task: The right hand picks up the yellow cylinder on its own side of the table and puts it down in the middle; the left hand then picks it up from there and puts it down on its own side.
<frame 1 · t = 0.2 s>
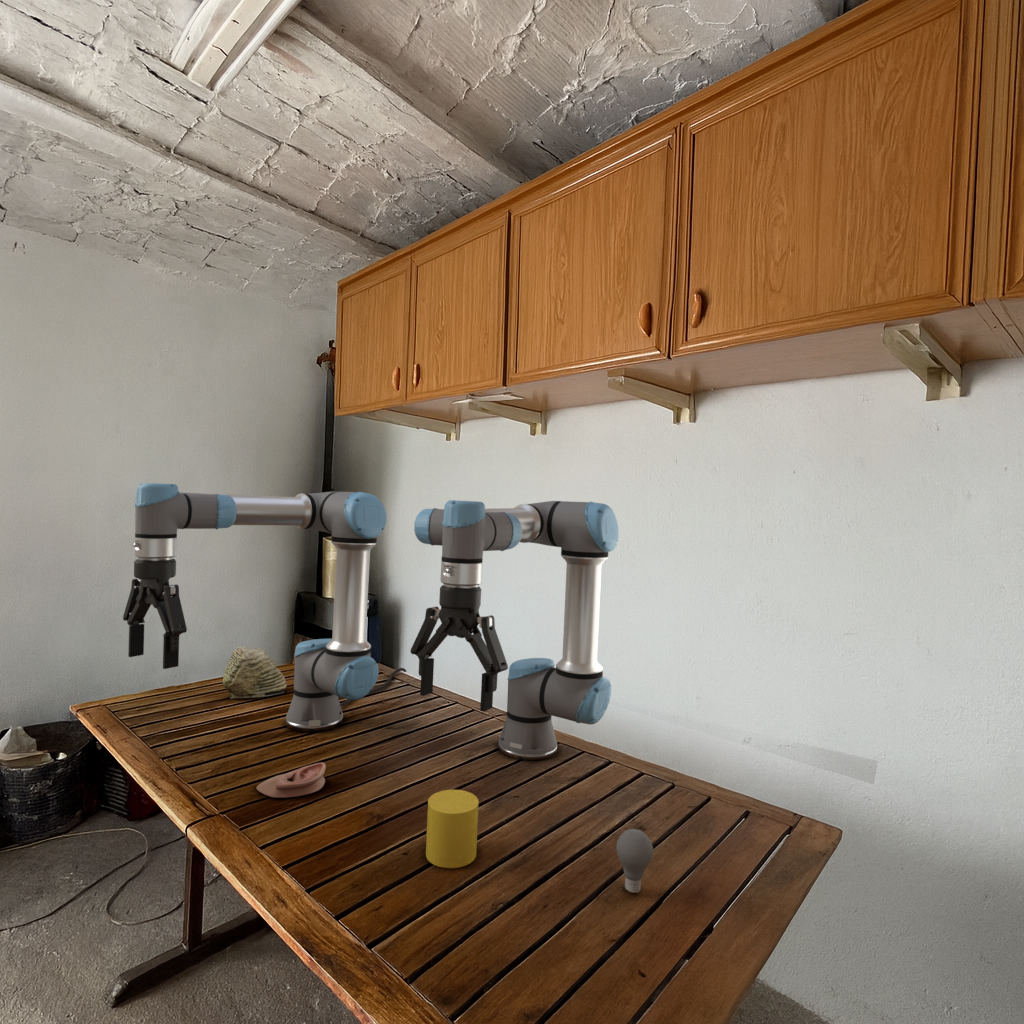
left hand: (152, 661, 130), 28 cm above the table, tool pointing down, fingers open, 13 cm apart
right hand: (455, 701, 115), 27 cm above the table, tool pointing down, fingers open, 13 cm apart
fossil: (254, 694, 198), on the table
light bulb: (632, 891, 106), on the table
yellow cylinder: (451, 853, 115), on the table
anatomical model: (291, 787, 137), on the table
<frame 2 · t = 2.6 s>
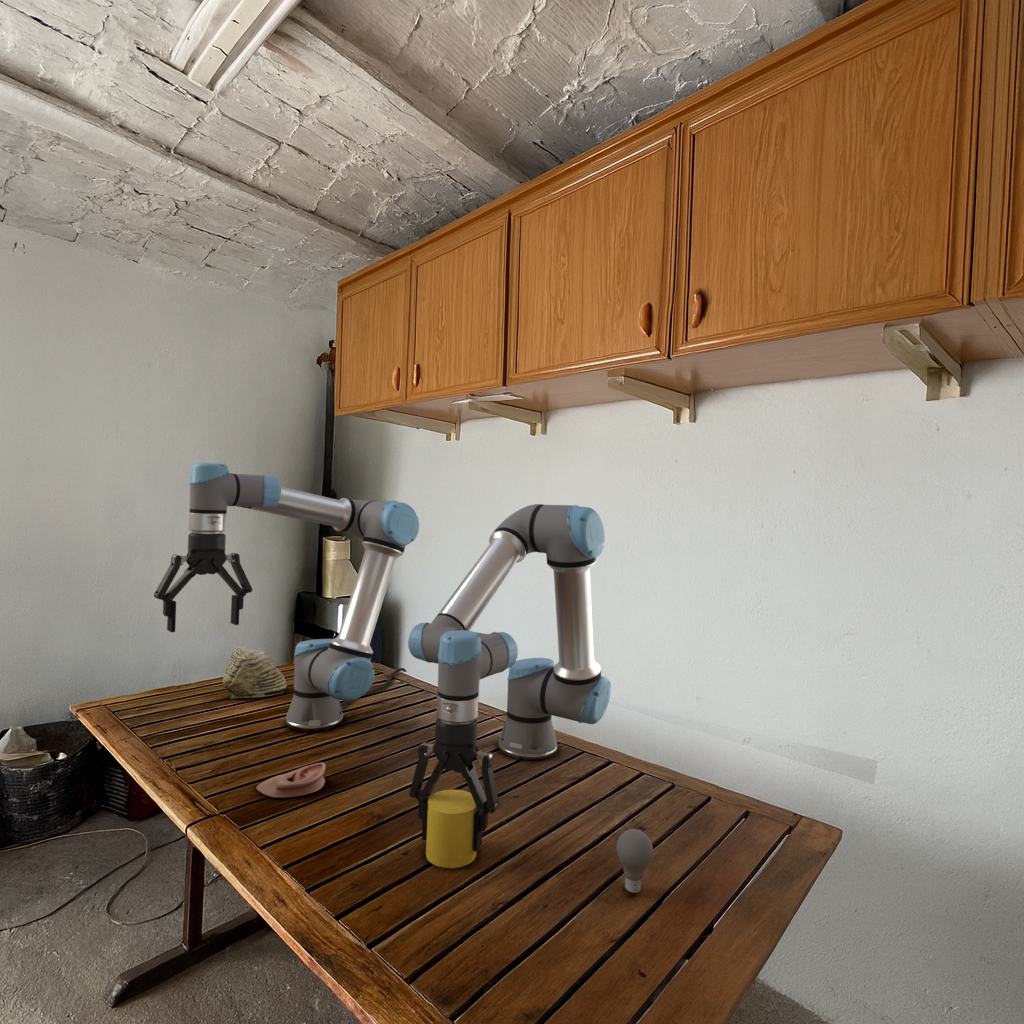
left hand: (204, 627, 141), 33 cm above the table, tool pointing down, fingers open, 13 cm apart
right hand: (451, 841, 115), 2 cm above the table, tool pointing down, fingers closed on yellow cylinder, 9 cm apart
yellow cylinder: (451, 853, 115), on the table, touching right hand
everything else where it was.
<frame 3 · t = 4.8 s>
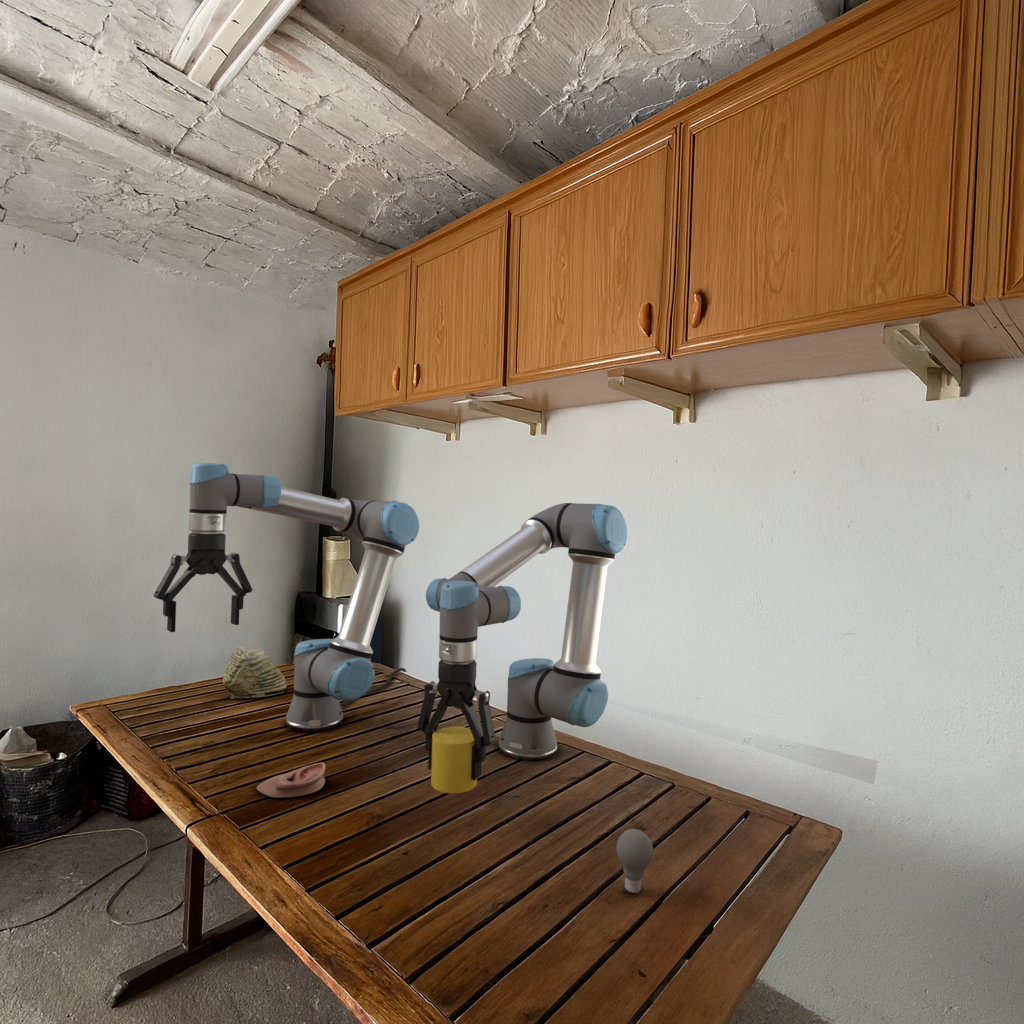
left hand: (204, 627, 141), 33 cm above the table, tool pointing down, fingers open, 13 cm apart
right hand: (454, 771, 126), 10 cm above the table, tool pointing down, fingers closed on yellow cylinder, 9 cm apart
yellow cylinder: (454, 782, 126), point 8 cm above the table, touching right hand
everything else where it was.
when the right hand's fingers open (3 cm above the table, at t = 7.2 s): yellow cylinder drops 1 cm, on the table.
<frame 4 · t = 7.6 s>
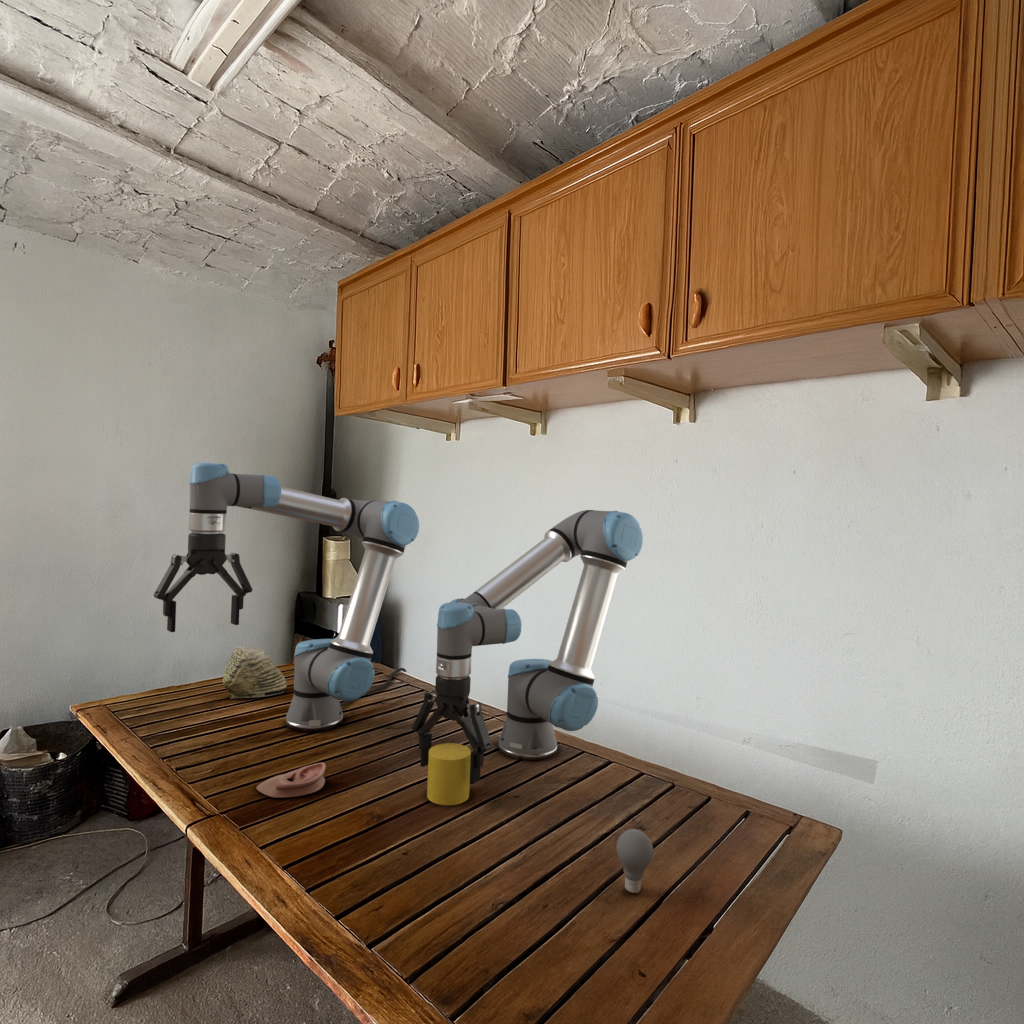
left hand: (204, 627, 141), 33 cm above the table, tool pointing down, fingers open, 13 cm apart
right hand: (449, 773, 137), 5 cm above the table, tool pointing down, fingers open, 13 cm apart
yellow cylinder: (448, 795, 137), on the table
everything else where it was.
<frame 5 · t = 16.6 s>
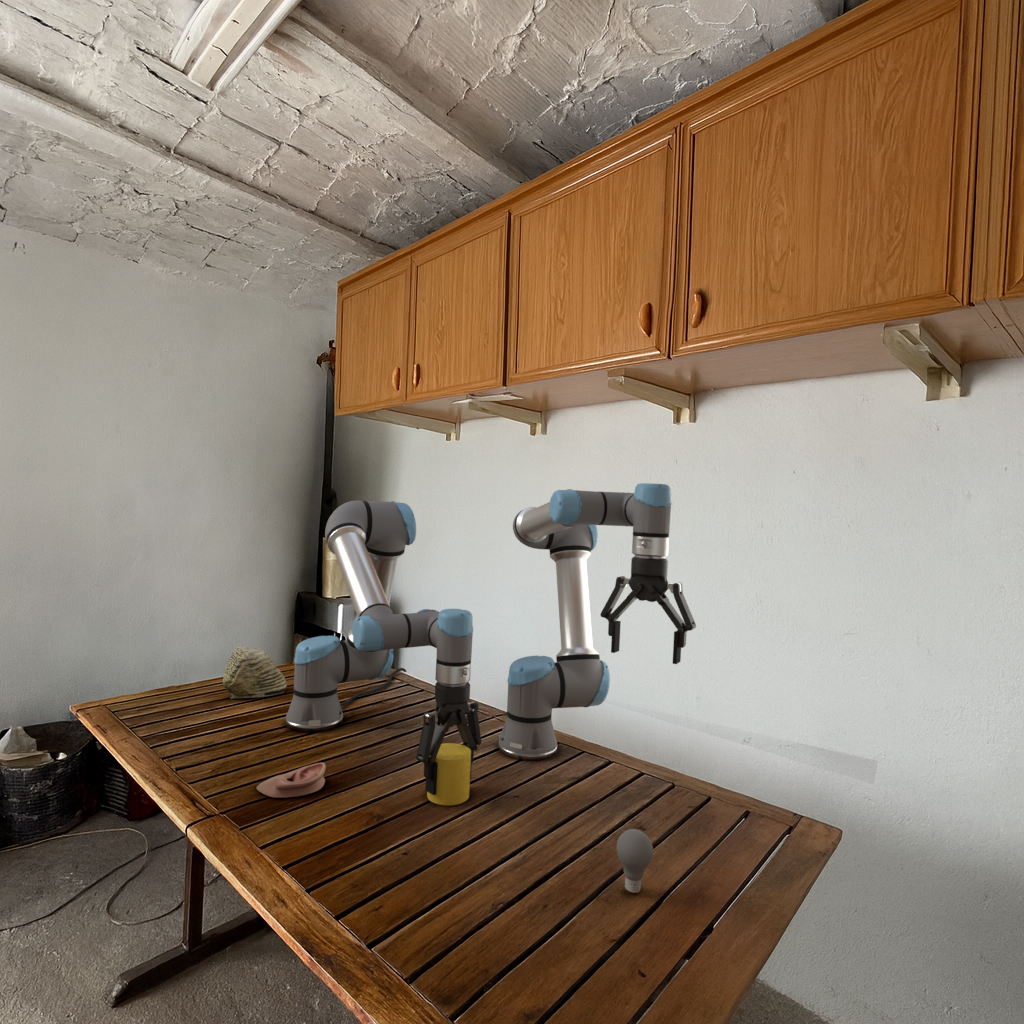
left hand: (448, 785, 137), 2 cm above the table, tool pointing down, fingers closed on yellow cylinder, 9 cm apart
right hand: (644, 657, 134), 32 cm above the table, tool pointing down, fingers open, 13 cm apart
yellow cylinder: (448, 795, 137), on the table, touching left hand
everything else where it was.
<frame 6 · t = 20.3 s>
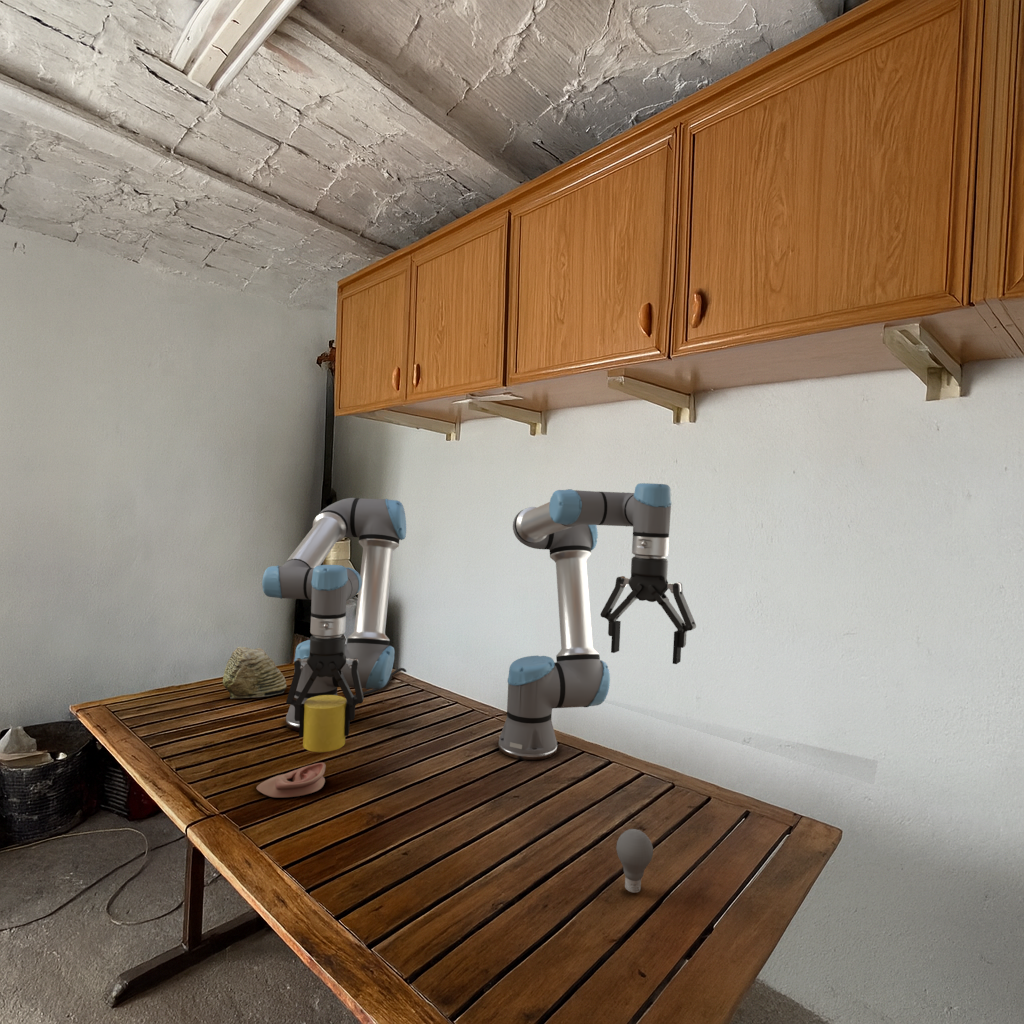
left hand: (324, 734, 142), 10 cm above the table, tool pointing down, fingers closed on yellow cylinder, 9 cm apart
right hand: (644, 657, 134), 32 cm above the table, tool pointing down, fingers open, 13 cm apart
yellow cylinder: (324, 743, 142), point 8 cm above the table, touching left hand
everything else where it was.
when the left hand's fingers open (3 cm above the table, at t = 24.0 s): yellow cylinder drops 1 cm, on the table.
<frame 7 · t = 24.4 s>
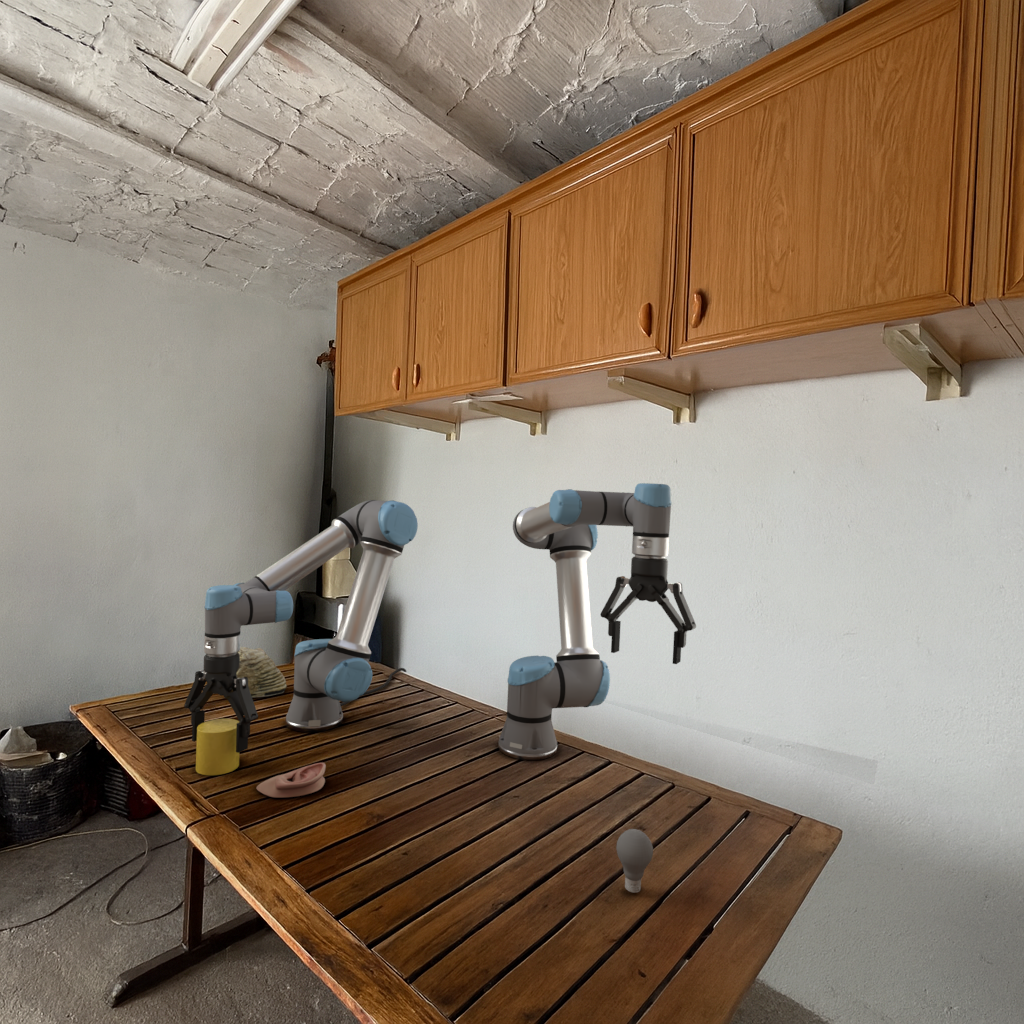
left hand: (219, 744, 146), 5 cm above the table, tool pointing down, fingers open, 13 cm apart
right hand: (644, 657, 134), 32 cm above the table, tool pointing down, fingers open, 13 cm apart
yellow cylinder: (217, 766, 146), on the table
everything else where it was.
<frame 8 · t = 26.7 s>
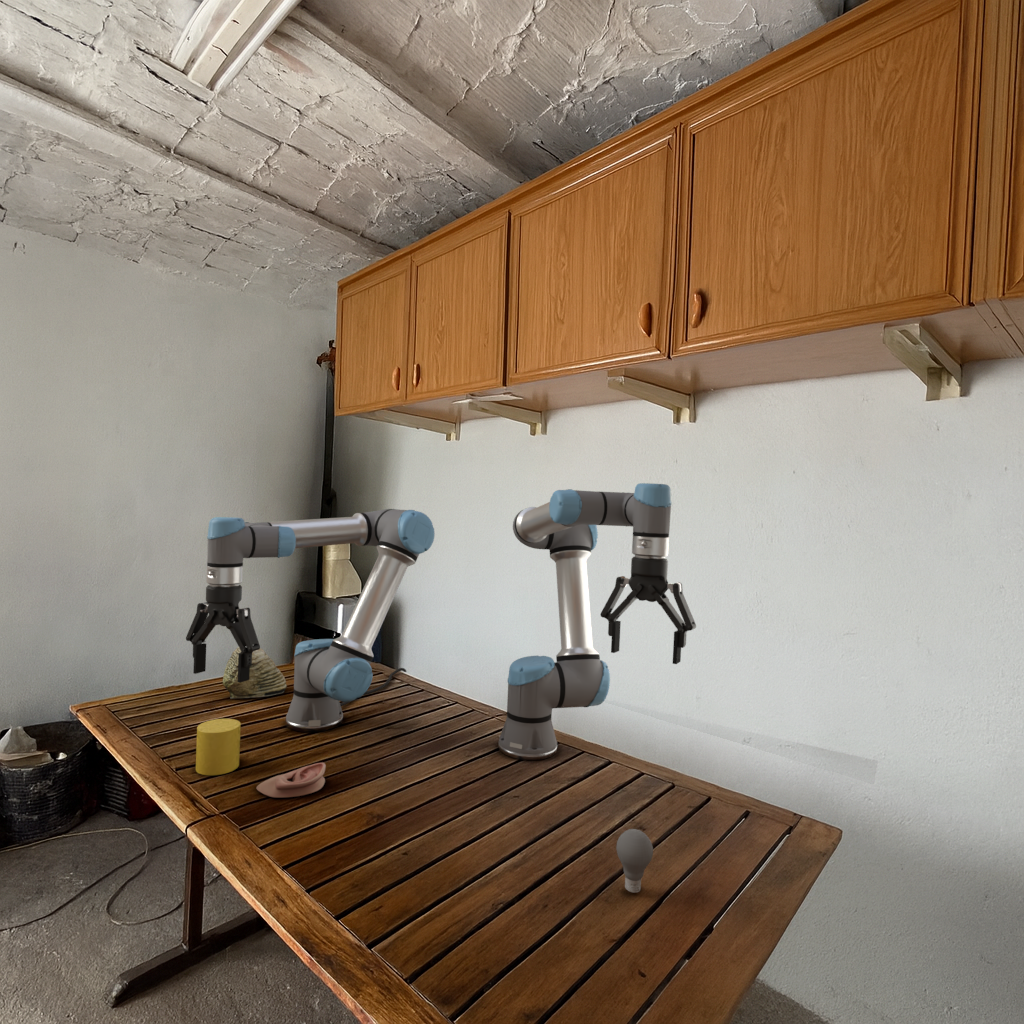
left hand: (221, 676, 146), 21 cm above the table, tool pointing down, fingers open, 13 cm apart
right hand: (644, 657, 134), 32 cm above the table, tool pointing down, fingers open, 13 cm apart
nothing on the table moved.
at the end: yellow cylinder inside the target area (0.1 cm from its centre), on the table; yellow cylinder tilted 0°; the two hands never held the yellow cylinder at the same time; the left hand is holding nothing; the right hand is holding nothing; yellow cylinder at rest at the end (0.0 cm/s) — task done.
